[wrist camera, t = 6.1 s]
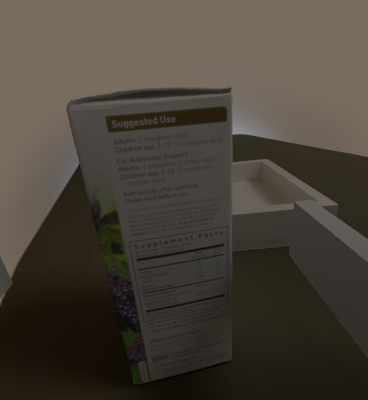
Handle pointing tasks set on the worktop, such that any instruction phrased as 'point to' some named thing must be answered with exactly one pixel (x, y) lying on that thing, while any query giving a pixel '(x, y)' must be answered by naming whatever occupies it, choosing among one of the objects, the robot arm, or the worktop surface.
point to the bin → (267, 204)
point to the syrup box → (163, 220)
